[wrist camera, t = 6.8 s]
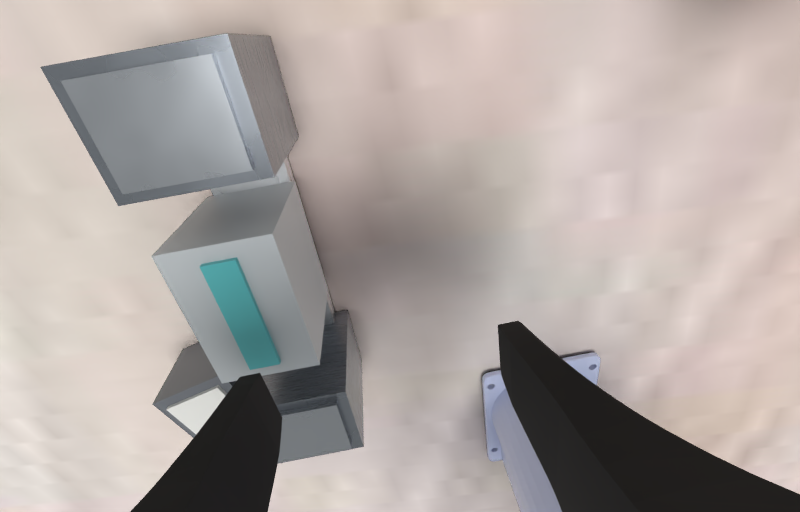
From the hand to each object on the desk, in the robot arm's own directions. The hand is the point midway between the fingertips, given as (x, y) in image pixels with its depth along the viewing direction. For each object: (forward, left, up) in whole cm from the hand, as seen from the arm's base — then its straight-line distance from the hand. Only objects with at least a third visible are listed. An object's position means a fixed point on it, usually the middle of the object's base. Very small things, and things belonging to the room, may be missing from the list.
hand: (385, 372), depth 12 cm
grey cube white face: (-7, +10, -10) cm, 15 cm away
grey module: (+1, +5, -9) cm, 10 cm away
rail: (0, +5, -10) cm, 11 cm away
